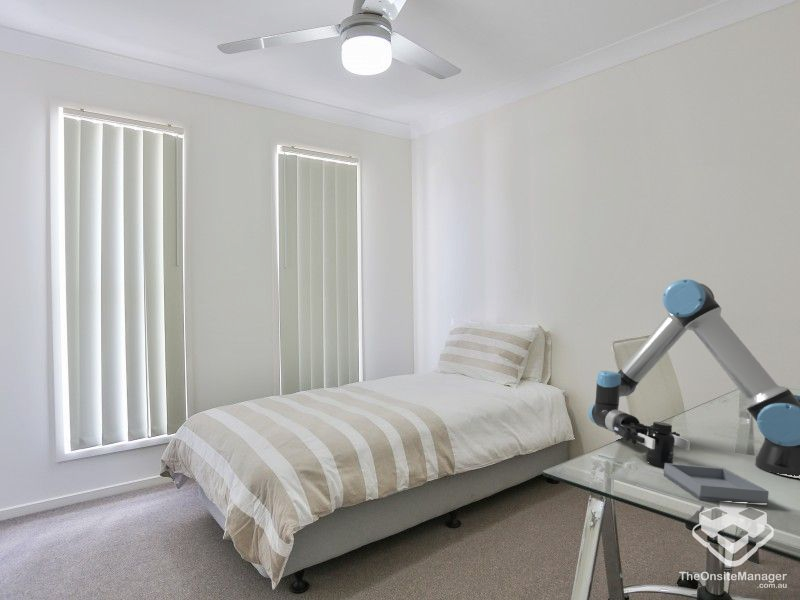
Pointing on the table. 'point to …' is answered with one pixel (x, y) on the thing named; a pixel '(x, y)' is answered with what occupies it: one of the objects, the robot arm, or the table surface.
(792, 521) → the table surface
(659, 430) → the supplement bottle
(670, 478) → the charcoal tray
